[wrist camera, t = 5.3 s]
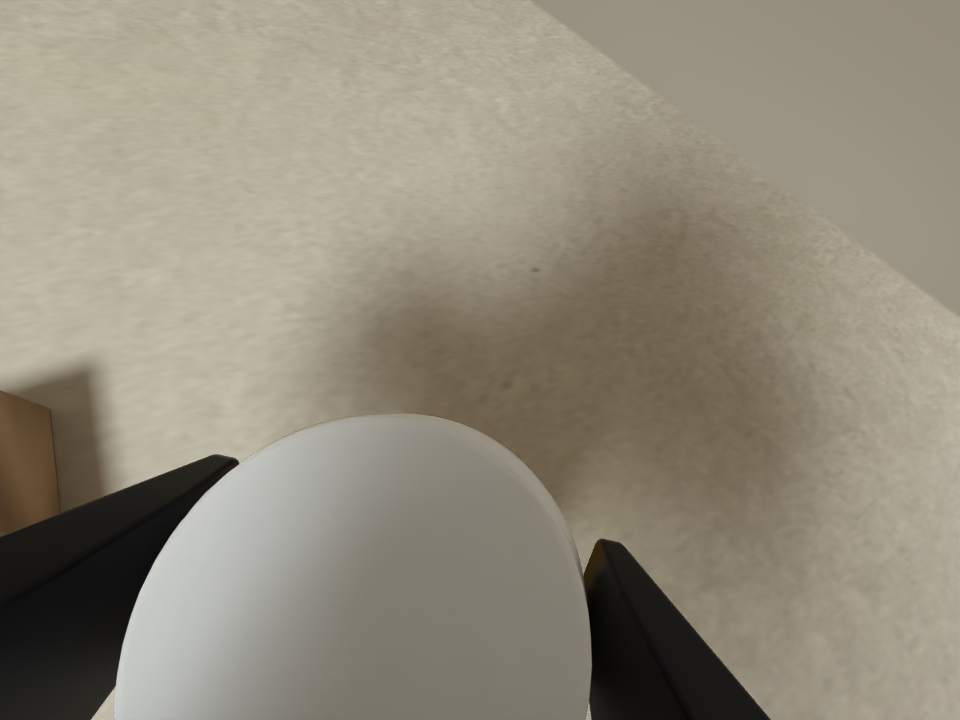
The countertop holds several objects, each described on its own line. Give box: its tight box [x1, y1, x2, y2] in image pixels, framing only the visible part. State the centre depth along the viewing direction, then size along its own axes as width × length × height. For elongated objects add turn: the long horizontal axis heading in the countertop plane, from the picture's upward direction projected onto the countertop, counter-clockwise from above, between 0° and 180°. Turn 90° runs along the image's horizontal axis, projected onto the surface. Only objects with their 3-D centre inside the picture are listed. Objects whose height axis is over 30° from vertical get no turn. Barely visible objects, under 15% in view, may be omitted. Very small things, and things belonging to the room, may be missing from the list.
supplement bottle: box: [114, 413, 592, 720], centre depth 11 cm, size 7×7×13 cm
